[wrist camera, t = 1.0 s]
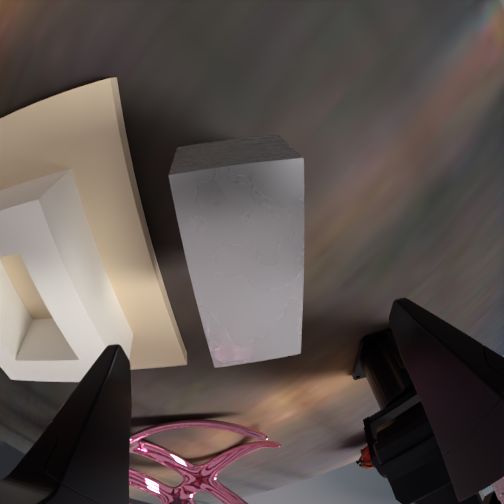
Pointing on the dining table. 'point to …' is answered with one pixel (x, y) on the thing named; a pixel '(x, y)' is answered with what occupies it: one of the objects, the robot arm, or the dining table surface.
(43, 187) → the cream square frame
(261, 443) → the pink openwork sphere
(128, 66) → the dining table surface
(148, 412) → the dining table surface
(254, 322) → the grey wooden block
